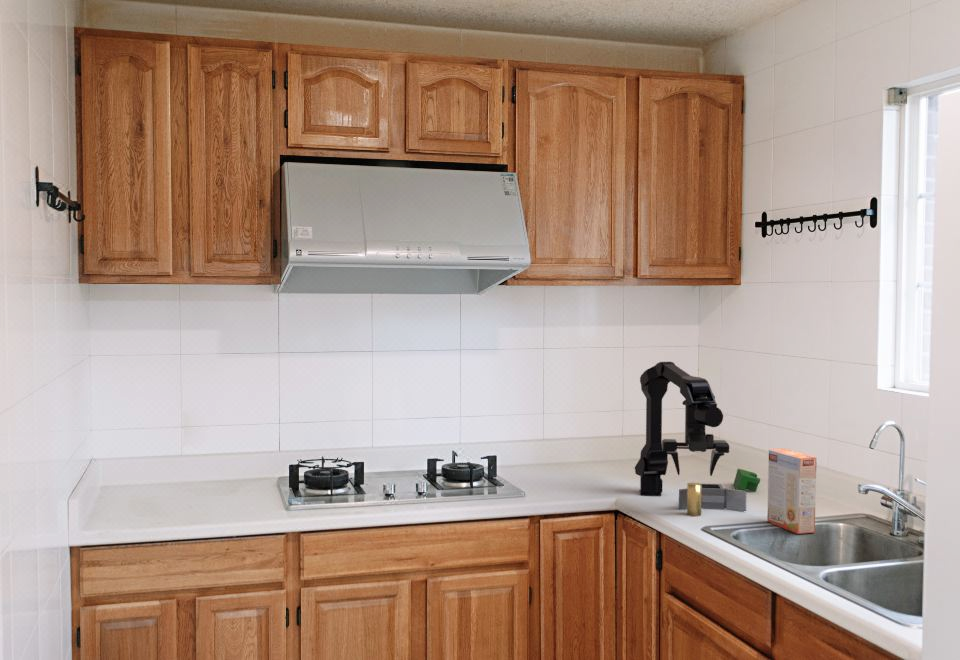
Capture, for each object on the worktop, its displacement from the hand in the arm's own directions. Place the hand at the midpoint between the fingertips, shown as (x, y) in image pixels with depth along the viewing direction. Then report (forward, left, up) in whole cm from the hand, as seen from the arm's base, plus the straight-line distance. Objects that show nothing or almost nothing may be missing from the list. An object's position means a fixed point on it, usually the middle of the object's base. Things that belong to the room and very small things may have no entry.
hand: (694, 475), depth 262 cm
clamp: (+21, +35, -12) cm, 42 cm away
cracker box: (+25, -11, -12) cm, 30 cm away
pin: (0, 0, -12) cm, 12 cm away
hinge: (+6, +10, -12) cm, 16 cm away
